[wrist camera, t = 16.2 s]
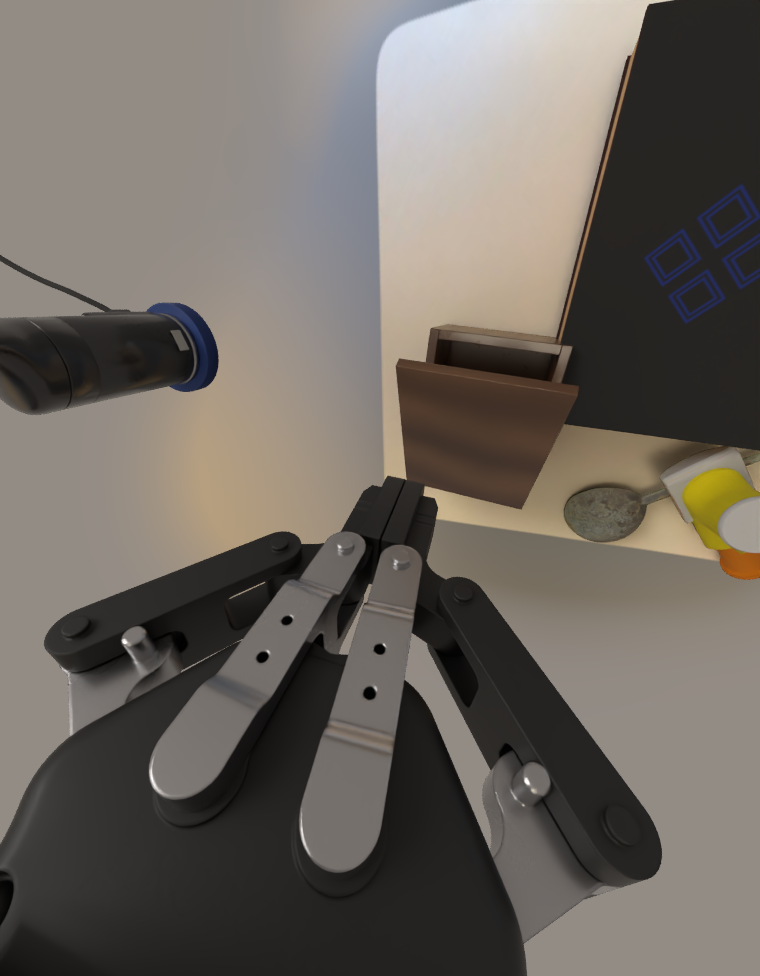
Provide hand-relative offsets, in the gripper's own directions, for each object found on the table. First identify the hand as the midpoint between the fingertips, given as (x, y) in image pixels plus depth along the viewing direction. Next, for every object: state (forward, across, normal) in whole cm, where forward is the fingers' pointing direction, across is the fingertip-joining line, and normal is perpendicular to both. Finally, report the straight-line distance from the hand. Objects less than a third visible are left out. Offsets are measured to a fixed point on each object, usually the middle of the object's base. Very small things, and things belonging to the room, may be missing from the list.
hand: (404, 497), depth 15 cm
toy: (+15, -28, +11) cm, 33 cm away
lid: (+16, -2, +6) cm, 18 cm away
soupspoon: (+26, -21, +8) cm, 34 cm away
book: (+30, -17, -7) cm, 35 cm away
